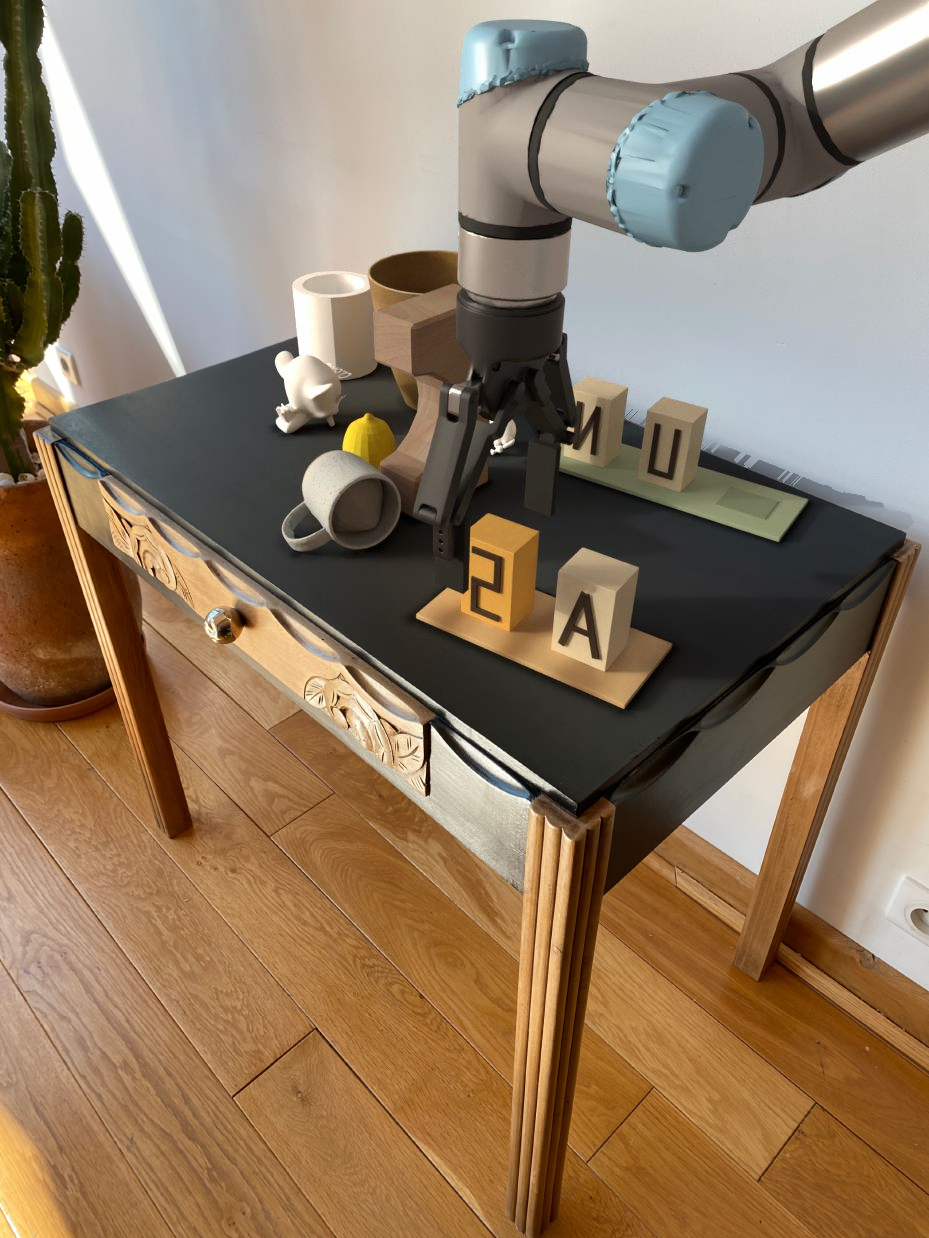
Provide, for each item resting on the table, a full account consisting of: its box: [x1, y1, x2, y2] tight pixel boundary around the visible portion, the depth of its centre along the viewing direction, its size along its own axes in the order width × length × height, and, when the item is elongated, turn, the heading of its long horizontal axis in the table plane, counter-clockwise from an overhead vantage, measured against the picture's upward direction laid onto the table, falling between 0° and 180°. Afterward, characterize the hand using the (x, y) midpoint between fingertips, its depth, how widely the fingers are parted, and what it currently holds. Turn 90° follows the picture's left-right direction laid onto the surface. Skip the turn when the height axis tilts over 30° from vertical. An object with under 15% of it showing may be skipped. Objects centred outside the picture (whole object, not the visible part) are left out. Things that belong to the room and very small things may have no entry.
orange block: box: [461, 512, 540, 632], centre depth 78 cm, size 5×4×8 cm
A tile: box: [551, 547, 640, 672], centre depth 74 cm, size 5×4×8 cm
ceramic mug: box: [281, 449, 402, 552], centre depth 88 cm, size 11×8×8 cm
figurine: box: [274, 350, 351, 434], centre depth 107 cm, size 12×8×10 cm
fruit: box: [342, 411, 397, 471], centre depth 96 cm, size 6×6×8 cm
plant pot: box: [366, 249, 461, 411], centre depth 110 cm, size 15×15×16 cm
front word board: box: [415, 587, 673, 710], centre depth 79 cm, size 20×9×1 cm, turn 56°
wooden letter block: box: [564, 375, 629, 468], centre depth 100 cm, size 5×4×8 cm
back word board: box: [559, 442, 809, 543], centre depth 99 cm, size 28×9×1 cm, turn 56°
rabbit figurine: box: [490, 419, 517, 456], centre depth 105 cm, size 6×4×8 cm
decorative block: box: [373, 284, 490, 521], centre depth 91 cm, size 11×6×20 cm, turn 136°
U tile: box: [637, 396, 709, 492], centre depth 97 cm, size 5×4×8 cm
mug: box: [291, 270, 378, 381], centre depth 121 cm, size 14×10×11 cm
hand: (498, 546), depth 77 cm, fingers open, 13 cm apart
